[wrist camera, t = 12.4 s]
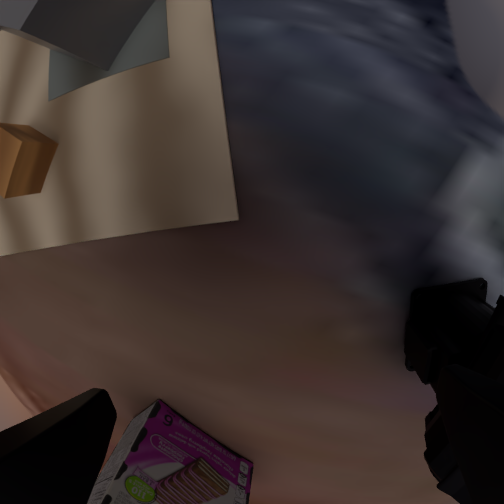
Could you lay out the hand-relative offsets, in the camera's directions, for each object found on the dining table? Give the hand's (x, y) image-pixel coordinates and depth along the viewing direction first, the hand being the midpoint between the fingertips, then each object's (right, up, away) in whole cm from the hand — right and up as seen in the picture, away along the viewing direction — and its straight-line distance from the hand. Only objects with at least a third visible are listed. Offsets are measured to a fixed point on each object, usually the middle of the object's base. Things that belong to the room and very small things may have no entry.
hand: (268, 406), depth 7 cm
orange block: (-17, +11, +12) cm, 23 cm away
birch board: (-13, +15, +11) cm, 23 cm away
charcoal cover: (-11, +20, +9) cm, 25 cm away
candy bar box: (-6, -13, +17) cm, 23 cm away
